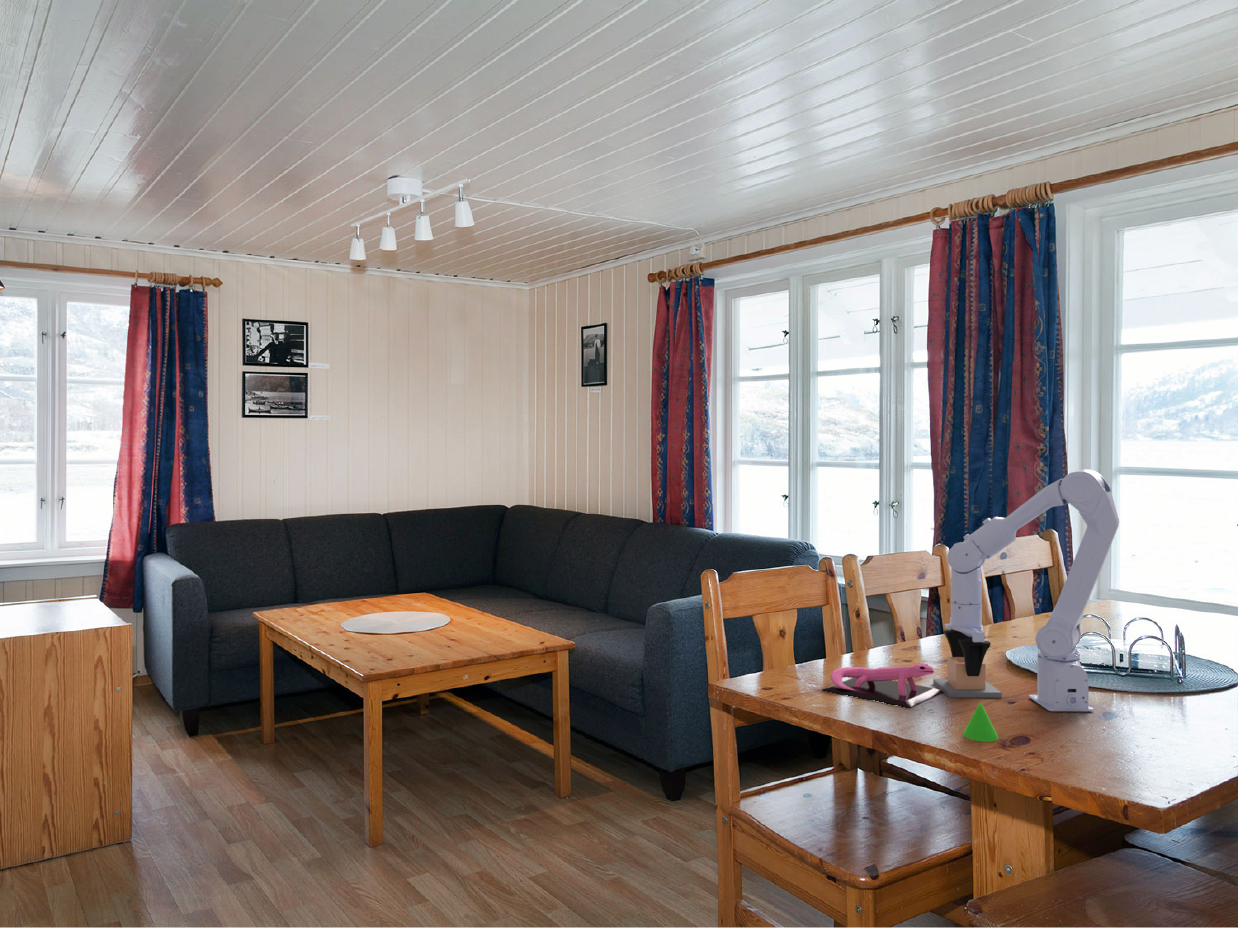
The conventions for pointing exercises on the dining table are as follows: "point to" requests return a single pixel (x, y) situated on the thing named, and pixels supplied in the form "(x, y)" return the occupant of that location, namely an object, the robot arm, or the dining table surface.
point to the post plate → (967, 690)
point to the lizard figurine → (884, 684)
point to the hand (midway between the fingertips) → (966, 670)
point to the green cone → (980, 727)
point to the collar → (963, 675)
